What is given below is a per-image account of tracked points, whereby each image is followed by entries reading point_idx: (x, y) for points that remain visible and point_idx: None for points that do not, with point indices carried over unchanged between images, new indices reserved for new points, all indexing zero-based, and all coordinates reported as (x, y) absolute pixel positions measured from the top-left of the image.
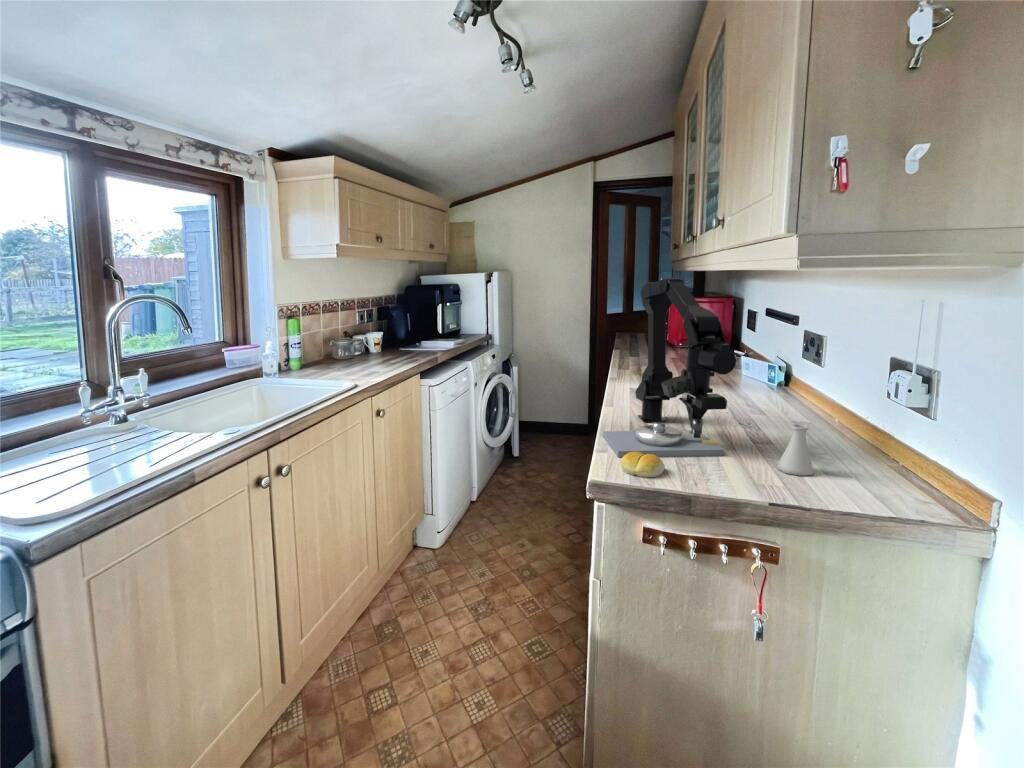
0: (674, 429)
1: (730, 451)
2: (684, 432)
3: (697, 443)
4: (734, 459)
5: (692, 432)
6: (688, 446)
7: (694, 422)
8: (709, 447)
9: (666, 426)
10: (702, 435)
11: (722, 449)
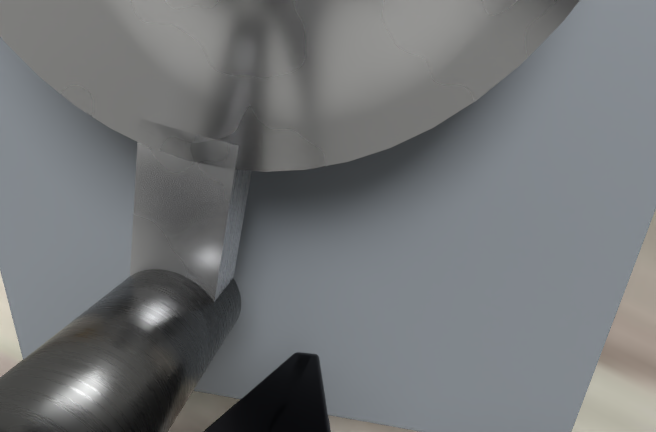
0: (321, 114)
1: None
2: (173, 189)
3: None
4: (5, 348)
5: (143, 273)
6: (55, 125)
7: (12, 372)
8: (55, 289)
9: (515, 51)
10: (380, 408)
11: (20, 348)
